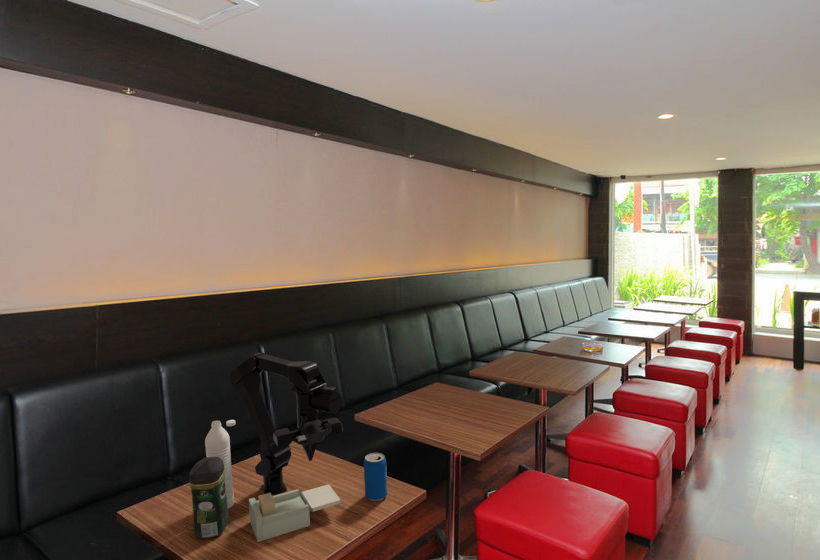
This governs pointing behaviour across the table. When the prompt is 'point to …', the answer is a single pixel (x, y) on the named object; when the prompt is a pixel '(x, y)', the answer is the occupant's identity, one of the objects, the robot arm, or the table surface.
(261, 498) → the block
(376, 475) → the beverage can
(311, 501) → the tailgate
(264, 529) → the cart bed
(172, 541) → the table surface
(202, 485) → the coffee jar
